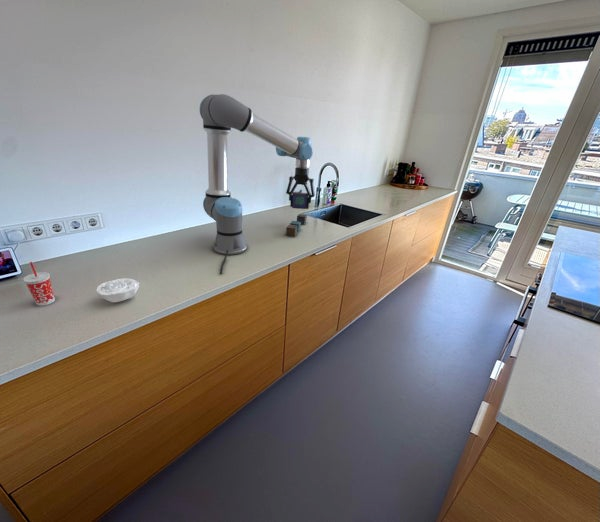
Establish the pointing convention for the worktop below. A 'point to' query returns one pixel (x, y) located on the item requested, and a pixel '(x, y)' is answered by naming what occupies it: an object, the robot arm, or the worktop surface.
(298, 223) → the block
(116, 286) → the cell model
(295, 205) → the flask
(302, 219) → the block
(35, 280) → the beverage cup
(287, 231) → the block
